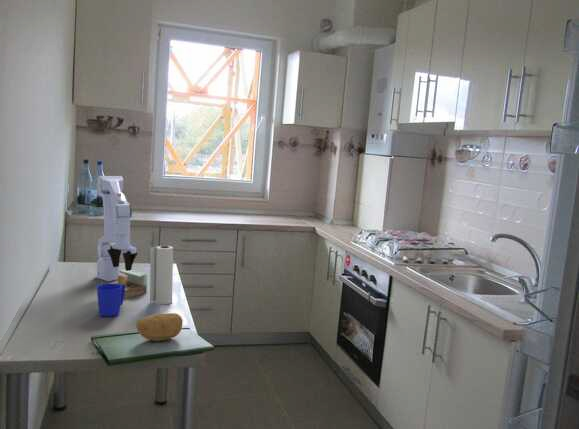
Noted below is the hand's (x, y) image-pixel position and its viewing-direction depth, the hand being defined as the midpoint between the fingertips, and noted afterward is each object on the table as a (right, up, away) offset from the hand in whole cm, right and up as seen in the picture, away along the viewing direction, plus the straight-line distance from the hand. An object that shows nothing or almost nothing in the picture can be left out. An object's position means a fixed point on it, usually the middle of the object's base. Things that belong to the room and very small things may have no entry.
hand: (122, 268), depth 212 cm
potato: (+25, -18, -45) cm, 54 cm away
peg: (0, -10, +1) cm, 10 cm away
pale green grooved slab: (+3, -9, +5) cm, 11 cm away
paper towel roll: (+18, -12, -8) cm, 23 cm away
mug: (+4, -14, -22) cm, 26 cm away
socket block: (0, -10, +1) cm, 10 cm away
